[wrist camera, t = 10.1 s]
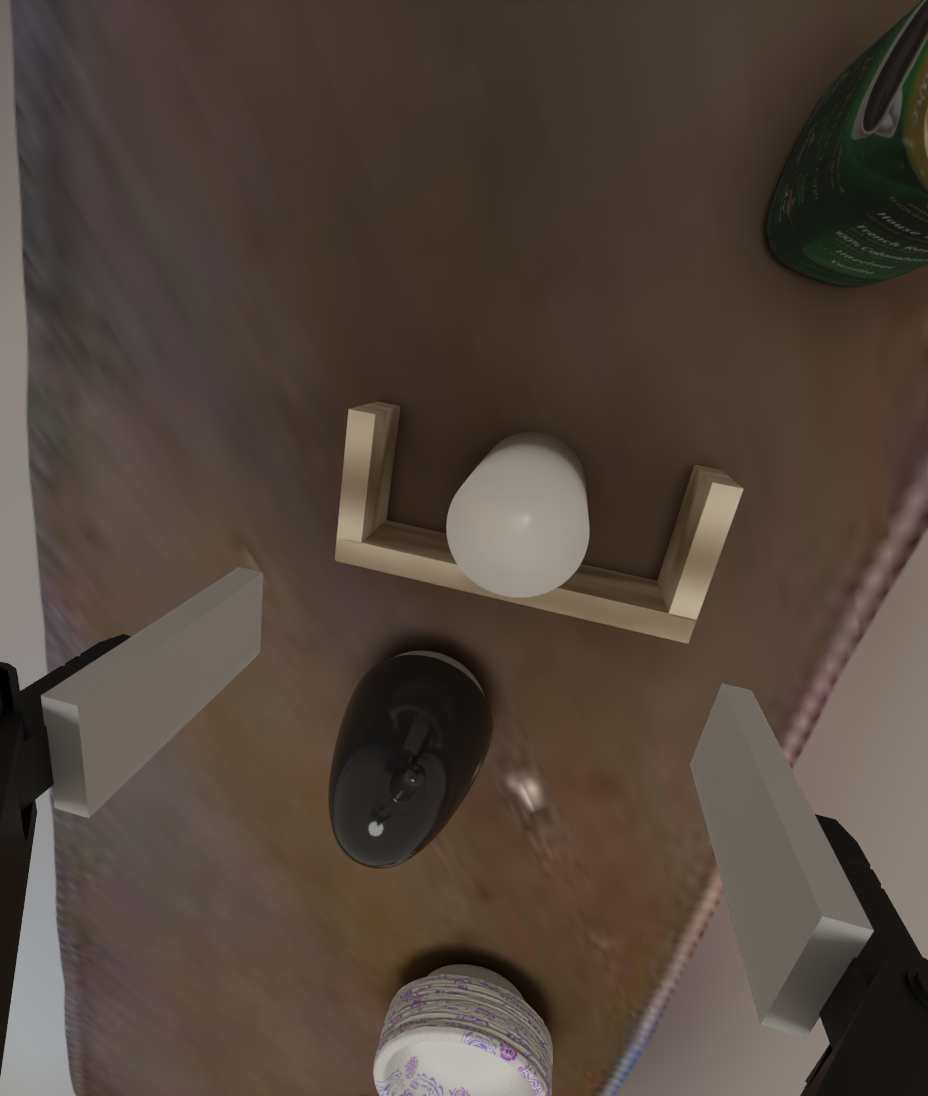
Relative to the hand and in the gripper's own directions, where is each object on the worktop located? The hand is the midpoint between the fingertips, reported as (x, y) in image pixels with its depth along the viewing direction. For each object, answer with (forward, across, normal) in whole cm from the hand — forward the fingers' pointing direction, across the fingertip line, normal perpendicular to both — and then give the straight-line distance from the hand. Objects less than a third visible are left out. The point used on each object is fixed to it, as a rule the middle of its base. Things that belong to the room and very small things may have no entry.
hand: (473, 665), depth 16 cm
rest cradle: (+23, 0, -1) cm, 23 cm away
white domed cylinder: (+23, 0, 0) cm, 23 cm away
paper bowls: (+23, +5, -50) cm, 55 cm away
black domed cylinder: (+23, -4, -17) cm, 29 cm away
